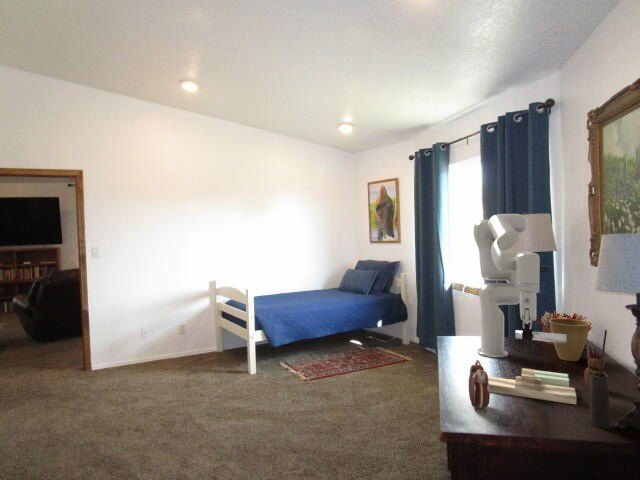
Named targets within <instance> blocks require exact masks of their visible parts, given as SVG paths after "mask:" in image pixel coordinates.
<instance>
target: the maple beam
mask: <svg viewBox="0 0 640 480" xmlns="http://www.w3.org/2000/svg"><path fill="white" fill-rule="evenodd" d="M535 370H536V369H532V368H527V367H525V368H524V367H522V368H521V376H520V375H519V376H518V375H515V379H509V378H503V377H495V376H489V375H488V382H489V390H490V392H491V393H496V394H504V395H511V396H517V397H523V398H530V399H537V400H544V401H551V402H557V403H563V404H570V405H577V394H576V393H577V392H576V389H575V387H570V386H569V387H563V386H556V385H549V384H541V379H536V378H535Z"/></svg>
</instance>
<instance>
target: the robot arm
mask: <svg viewBox="0 0 640 480" xmlns="http://www.w3.org/2000/svg"><path fill="white" fill-rule="evenodd" d="M526 229H527V220H526V218H525V216H523V215H522V214H519V213H498V214H494V215H492V216H491V217H490V218H489V219H481V220H478V221H476V222H475V223H474V225H473V237H474V240H475V243H476V245H477V248H478V252H479V253H478V254H479V255H478V256H479V264H480V266H479V267H480V275H481V277H482V279H483V280H486V281H505V282H506V283H505V282H491V283H490V282H489V283H487V282H486V283H484V284H482V285H481V286H480V287H479V289H478V296H479V297H478V298H479V302H480V315H481V316H480V320H481V321H480V330H481V331H480V337H481V338H480V341H481V342H480V348H478V349H477V353H478V355H480V356H484V357H487V358H494V359H497V358H498V359H499V358H505V357H508V355H509V352H508V351H507V350H505V315H504V312H503V311H502V309H501V308H500V307H499V306H503V305H504V306H505V305H506V306H507V305H508V306H510V305H511V306H512V305H518V304H519V315H520V319H521V321H522V328H521V330H522V339H521V340H523V341H524V340H525V341H533V340H532V331H533V332H534V327H533V322H535V321H537V310H538V309H537V294H539V293H540V271H541V270H540V268H541V267H540V265H541V264H540V263H541V261H540V260H541V259H540V258H541V257H540V255H539V254H538V253H536V252H533V251H530V250H509V249H512V248H513V247H515V246H516V245H517V244H518V242H519V240H520V236H521V235H522V234H524V233H525V232H526ZM493 239H494V241H493Z"/></svg>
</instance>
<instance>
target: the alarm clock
mask: <svg viewBox="0 0 640 480" xmlns="http://www.w3.org/2000/svg"><path fill="white" fill-rule="evenodd" d="M488 376H489V374H488V372H486V371H485V369H484V367H483V366H482V364H481V362H480V360H478V359H477V360H476V361H475V364H472V365H471V366H470V367H469V377H468V395H469V400H470V404H471V406H472V407H473V408H474V411H475V412H476V411H477V408H481V409H482V408H483V410H484V413H487V408H488V407H489V404H490V398H491V397H490V396H491V395H490V394H491V393H490V390H489V382H488Z"/></svg>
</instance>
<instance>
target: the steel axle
mask: <svg viewBox="0 0 640 480" xmlns="http://www.w3.org/2000/svg"><path fill="white" fill-rule="evenodd" d="M514 335H515V339H519V340H523V339H522V329H521V330H519V329H515V334H514ZM531 341H537V342H538V341H539V342H546V343H547V342H548V343H554V342H557V343H567V335H566V334H555V333H551V332H543V331H534V330H533V331H532V340H531Z"/></svg>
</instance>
